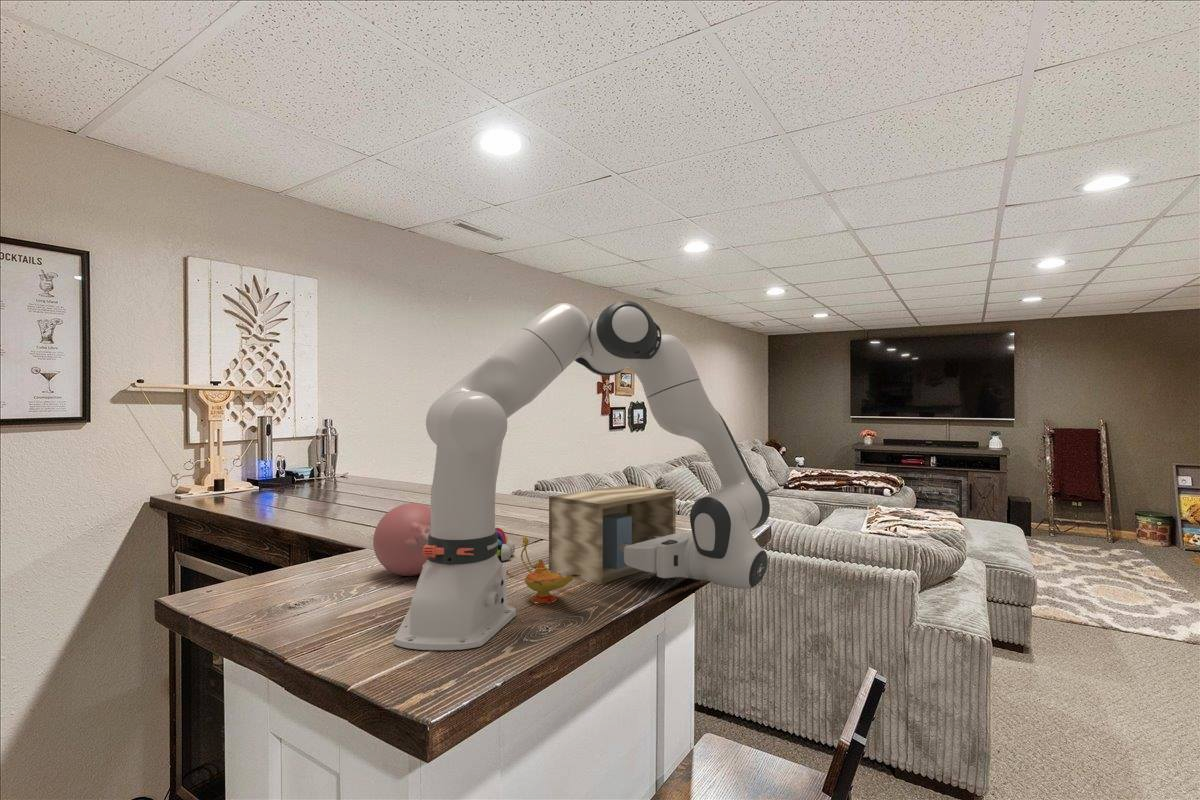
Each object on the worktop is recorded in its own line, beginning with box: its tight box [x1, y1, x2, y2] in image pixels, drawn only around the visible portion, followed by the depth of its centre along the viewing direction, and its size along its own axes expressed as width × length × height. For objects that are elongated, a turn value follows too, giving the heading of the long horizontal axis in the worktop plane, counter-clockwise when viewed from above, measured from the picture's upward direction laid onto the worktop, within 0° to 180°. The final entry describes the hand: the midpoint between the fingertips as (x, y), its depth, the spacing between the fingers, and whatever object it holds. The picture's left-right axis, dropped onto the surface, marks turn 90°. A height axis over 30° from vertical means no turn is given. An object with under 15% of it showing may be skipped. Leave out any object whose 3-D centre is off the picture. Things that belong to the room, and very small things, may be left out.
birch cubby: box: [548, 484, 677, 585], centre depth 132 cm, size 15×26×17 cm, turn 137°
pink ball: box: [372, 502, 431, 577], centre depth 126 cm, size 15×20×15 cm
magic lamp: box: [520, 535, 581, 604], centre depth 110 cm, size 7×18×11 cm, turn 42°
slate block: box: [603, 513, 632, 569], centre depth 132 cm, size 5×5×11 cm
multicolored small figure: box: [495, 527, 516, 562], centre depth 142 cm, size 8×10×7 cm
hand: (635, 543), depth 128 cm, fingers open, 8 cm apart
